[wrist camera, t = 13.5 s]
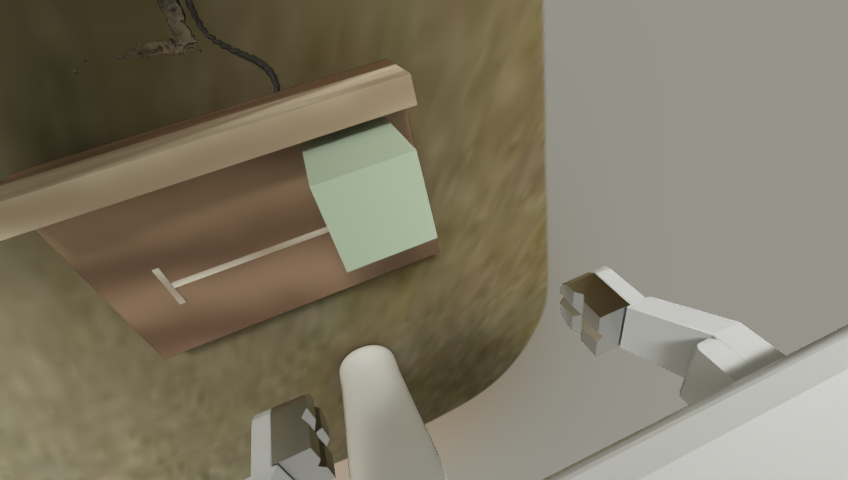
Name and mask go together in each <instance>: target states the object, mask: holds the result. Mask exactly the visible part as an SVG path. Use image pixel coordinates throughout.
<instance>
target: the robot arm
mask: <svg viewBox="0 0 848 480" xmlns="http://www.w3.org/2000/svg"><path fill="white" fill-rule="evenodd" d="M560 293H561V294H562V295H563V296H564V297H563V299H562V300H561V302H560V311H561V314H562V316H563V318H564V320H565V321H566V323H567V324H568V325H569V327H570V328H571V329H572V330H574V331H577V332H579V333H581V341H582V342H583V343H584V344H585V345H586V346H587V347H588V348H589V349H590V351H591V352H592V353H593V354H594V355H595V356H597V355H600V354H602V353H604V352H607V351H609V350H611V349H614V348H616V347H618V346H620V348H622V349H625V350H627V351H629V352H631V353H633V354H635V355H637V356H639V357H641V358H643V359H646V360H648V361H650V362H652V363H654V364H656V365H658V366H661V367H662V368H665V369H667V370H669V371H671V372H673V373H675V374H677V375H680V376H682V377H684V381H683V384H682V386H681V389H680V397H681V398H682V399H683V400H684V401H685V402H686V403H687V404H688V406H686V407H684V408H682V409H680V410H679V411H676V412H674V413H672V414H671V415H668V416H666V417H664V418H663V419H661V420H659V421H657V422H655V423H653V424H651V425H649V426H647V427H645V428H643V429H641V430H639V431H637V432H635V433H633V434H631V435H629V436H627V437H625V438H623V439H621V440H619V441H617V442H615V443H613V444H611V445H610V446H607V447H606V448H603V449H602V450H600V451H598V452H596V453H594V454H592V455H590V456H588V457H586V458H584V459H582V460H580V461H578V462H576V463H574V464H572V465H570V466H568V467H566V468H564V469H562V470H560V471H558V472H556V473H554V474H552V475H550V476H548V477H547V478H544V479H543V480H848V324H847V325H845V326H843V327H841V328H840V329H838V330H836V331H834V332H832V333H830V334H828V335H826V336H824V337H822V338H820V339H818V340H816V341H814V342H812V343H810V344H808V345H806V346H804V347H802V348H800V349H798V350H796V351H794V352H792V353H790V354H788V355H786V356H785V355H784V354H783V353H781V352H780V351H779V350H777V349H776V348H774V347H773V346H772V345H770V344H769V343H768V342H766V341H765V340H763V339H762V338H761V337H759V336H758V335H756V334H755V333H753V332H752V331H751V330H750V329H748V328H747V327H745V326H744V325H743V324H741V323H740V322H737V321H734V320H730V319H727V318H723V317H720V316H716V315H713V314H709V313H706V312H702V311H698V310H695V309H692V308H688V307H685V306H681V305H678V304H674V303H671V302H667V301H664V300H661V299H657V298H654V297H647V298H645V297H644V296H643V295H642V294H640V293H639V292H638V291H637V290H635V289H634V288H633V287H632V286H631V285H629V284H628V283H627V282H626V281H625V280H623V279H622V278H621V277H619V276H618V275H617V274H616V273H615V272H614V271H612V270H611V269H610V268H609V267H606V266H603V267H601V268H598V269H596V270H594V271H591V272H588V273H586V274H584V275H581V276H580V277H577V278H575V279H573V280H570V281H568V282H566V283H563V284H562V285H561V287H560ZM329 439H330V436H329V430H328V426H327V423H326V420H325V417H324V415H323V413H322V411H321V410H320V408H319V407H315V406H314V402H313V398H312V397H311V396H310V395H309V393H308V394H306V395H303V396H301V397H298V398H296V399H293V400H291V401H288V402H286V403H283V404H281V405H278V406H276V407H273V408H271V409H268V410H266V411H264V412H261V413H259V414H256V415H254V417H253V420H252V433H251V476H250V477H248V478H246V479H245V480H331V479H333V478H335V477H336V476H335V469H334V463H333V456H332V453H331V452H330V450H329V449H328V448H327V444H328V442H329Z"/></svg>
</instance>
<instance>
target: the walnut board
mask: <svg viewBox="0 0 848 480" xmlns="http://www.w3.org/2000/svg"><path fill="white" fill-rule="evenodd" d="M415 105H417V101H416V96H415V91H414V87H413V82H412V78H411V74H410V73H409V72H407V71H406V70H404V69H402V68H401V67H399V66H397V65H396V64H394V63H392V62H391V61H389V60H388V59H384V60H381V61H377V62H374V63H371V64H368V65H364V66H361V67H358V68H354V69H351V70H348V71H345V72H341V73H338V74H335V75H331V76H328V77H325V78H322V79H318V80H315V81H312V82H309V83H305V84H302V85H299V86H295V87H292V88H289V89H286V90H282V91H279V92H276V93H272V94H269V95H266V96H263V97H259V98H256V99H253V100H249V101H246V102H243V103H240V104H236V105H233V106H230V107H226V108H223V109H220V110H217V111H213V112H210V113H207V114H203V115H200V116H197V117H194V118H190V119H187V120H184V121H180V122H177V123H174V124H171V125H167V126H164V127H161V128H157V129H154V130H151V131H148V132H144V133H141V134H138V135H134V136H131V137H128V138H125V139H121V140H118V141H115V142H111V143H108V144H105V145H102V146H98V147H95V148H92V149H88V150H85V151H82V152H79V153H75V154H72V155H69V156H65V157H62V158H59V159H56V160H52V161H49V162H46V163H42V164H39V165H36V166H33V167H29V168H26V169H23V170H19V171H16V172H14V173H12V174H11V175H9V176H8V177H7V178H5V179H4V180H3V181H1V182H0V241H2V240H5V239H8V238H11V237H14V236H17V235H20V234H23V233H26V232H29V231H32V230H36V231H37V232H38V233H39V234H40V235H41V236H42V237H43V238H44V239H45V240H46V241H47V242H48V243H49V244H50V245H51V246H52V247H53V248H54V249H55V250H56V251H57V252H58V253H59V254H60V255H61V256H62V257H63V258H64V259H65V260H66V261H67V262H68V263H69V264H70V265H71V266H72V267H73V268H74V269H75V270H76V271H77V272H78V273H79V274H80V275H81V276H82V277H83V278H84V279H85V280H86V281H87V282H88V283H89V284H90V285H91V286H92V287H93V288H94V289H95V290H96V291H97V292H98V293H99V294H100V295H101V296H102V297H103V298H104V299H105V300H106V301H107V302H108V303H109V304H110V305H111V306H112V307H113V308H114V309H115V310H116V311H117V312H118V313H119V314H120V315H121V316H122V317H123V318H124V319H125V320H126V321H127V322H128V323H129V324H130V325H131V326H132V327H133V328H134V329H135V330H136V331H137V332H138V333H139V334H140V335H141V336H142V337H143V338H144V339H145V340H146V341H147V342H148V343H149V344H150V345H151V346H152V347H153V348H154V349H155V350H156V351H157V352H158V353H159V354H160V355H161V356H162V357H163V358H164V359H166V358H169V357H171V356H174V355H177V354H179V353H182V352H184V351H187V350H189V349H192V348H195V347H197V346H200V345H202V344H205V343H207V342H210V341H213V340H215V339H218V338H220V337H223V336H225V335H228V334H231V333H233V332H236V331H238V330H241V329H243V328H246V327H249V326H251V325H254V324H256V323H259V322H262V321H264V320H267V319H269V318H272V317H274V316H277V315H280V314H282V313H285V312H287V311H290V310H292V309H295V308H298V307H300V306H303V305H305V304H308V303H310V302H313V301H316V300H318V299H321V298H323V297H326V296H328V295H331V294H334V293H336V292H339V291H341V290H344V289H346V288H349V287H352V286H354V285H357V284H359V283H362V282H364V281H367V280H370V279H372V278H375V277H377V276H380V275H382V274H385V273H388V272H390V271H393V270H395V269H398V268H400V267H403V266H406V265H408V264H411V263H413V262H416V261H418V260H421V259H424V258H426V257H429V256H431V255H434V254H436V253H439V252H440V251H439V247H438V243H437V238H436V239H433V240H430V241H428V242H425V243H423V244H420V245H417V246H415V247H412V248H410V249H407V250H404V251H402V252H399V253H397V254H394V255H391V256H389V257H386V258H384V259H381V260H378V261H376V262H373V263H370V264H368V265H365V266H363V267H360V268H357V269H355V270H352V271H350V272H347V271H346V269H345V267H344V264H343V262H342V260H341V257H340V255H339V253H338V251H337V248H336V246H335V244H334V242H333V239H332V237H331V235H330V232H329V230H328V228H327V226H326V223H325V221H324V219H323V217H322V214H321V212H320V210H319V207H318V205H317V203H316V201H315V198H314V196H313V194H312V191H311V189H310V187H309V182H308V177H307V172H306V167H305V163H304V158H303V153H302V148H301V143H302V142H305V141H308V140H311V139H314V138H317V137H320V136H323V135H326V134H330V133H333V132H336V131H339V130H342V129H345V128H348V127H351V126H354V125H357V124H360V123H363V122H366V121H369V120H372V119H375V118H379V117H382V116H384V117H385V118H386V119H387V120H388V121H389V122H390V123H391V124H392V125H393V126H394V127H395V128H396V129H397V130H398V131H399V132H400V133H401V134H402V135H403V136H404V138H405V139H406V140H407V141H408V142H409V143H410V144H411V145H412V146H413V147H414V148H415V146H414V142H413V138H412V133H411V129H410V125H409V121H408V116H407V112H406V108H409V107H412V106H415Z"/></svg>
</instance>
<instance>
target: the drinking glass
mask: <svg viewBox="0 0 848 480" xmlns="http://www.w3.org/2000/svg"><path fill="white" fill-rule="evenodd" d="M339 376H340V382H341V387H342V395H343V406H344V417H345V429H346V441H347V453H348V465H349V477H350V480H448V478H447V476H446V473H445V470H444V468H443V465H442V463H441V460H440V458H439V455H438V453H437V451H436V448H435V446H434V444H433V442H432V440H431V437H430V435H429V433H428V431H427V429H426V427H425V425H424V422H423V420H422V418H421V416H420V414H419V412H418V410H417V408H416V405H415V403H414V401H413V399H412V397H411V395H410V392H409V390H408V388H407V386H406V384H405V382H404V379H403V377H402V375H401V373H400V370H399V368H398V365H397V362H396V359H395V357H394V355H393V353H392V352H391V351H390V350H389V349H387V348H386V347H383V346H380V345H368V346H363V347H360V348H358V349H356V350H354V351H352V352H351V353H350V354H348V355H347V356H346V357H345V359H344V360H343V362H342V363H341V366H340V370H339Z"/></svg>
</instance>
